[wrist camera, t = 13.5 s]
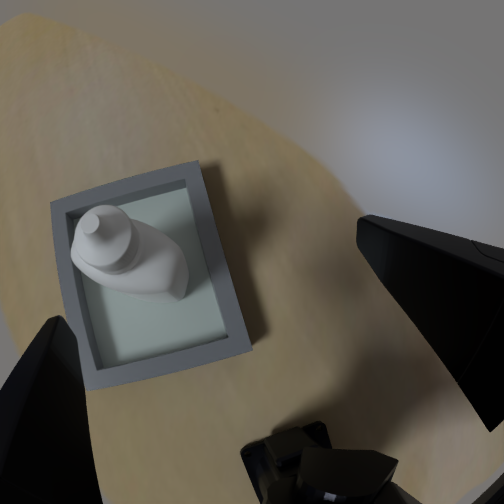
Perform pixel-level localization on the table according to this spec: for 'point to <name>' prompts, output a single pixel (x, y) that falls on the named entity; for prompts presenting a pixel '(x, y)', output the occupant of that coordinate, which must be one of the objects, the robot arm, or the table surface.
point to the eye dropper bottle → (129, 256)
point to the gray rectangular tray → (142, 312)
